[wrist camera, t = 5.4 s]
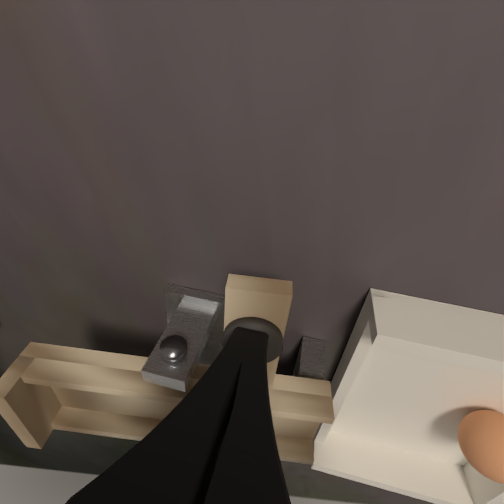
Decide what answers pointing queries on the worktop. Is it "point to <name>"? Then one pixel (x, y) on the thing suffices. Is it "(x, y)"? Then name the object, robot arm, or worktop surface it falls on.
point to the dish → (414, 398)
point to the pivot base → (205, 340)
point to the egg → (484, 442)
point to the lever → (152, 395)
